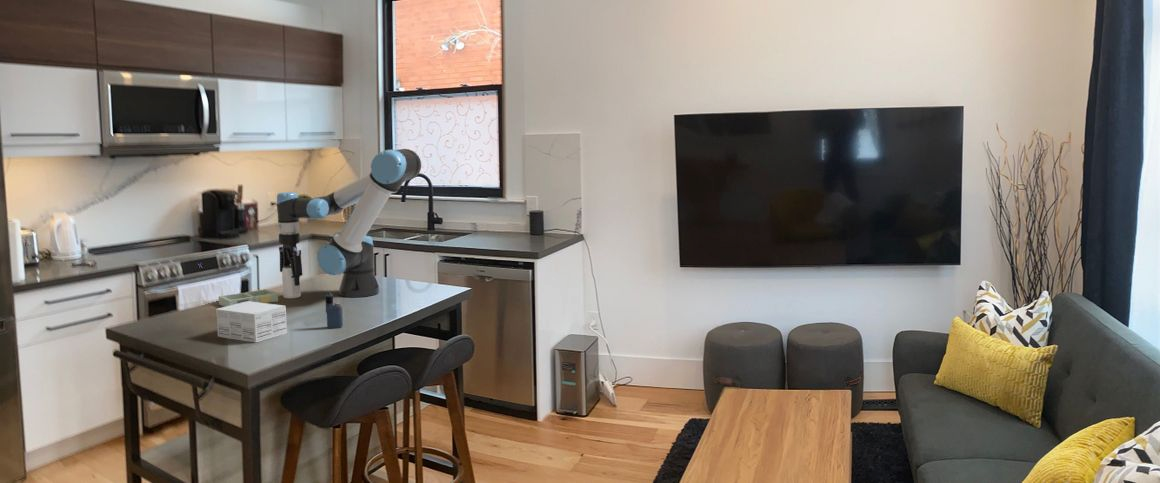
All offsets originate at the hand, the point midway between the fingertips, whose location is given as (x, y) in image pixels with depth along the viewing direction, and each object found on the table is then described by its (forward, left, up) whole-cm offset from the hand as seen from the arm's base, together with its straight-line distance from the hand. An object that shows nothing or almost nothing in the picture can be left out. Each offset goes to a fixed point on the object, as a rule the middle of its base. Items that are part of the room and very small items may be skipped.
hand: (292, 292), depth 312 cm
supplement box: (-43, +34, -2) cm, 55 cm away
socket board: (+2, +16, -2) cm, 16 cm away
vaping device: (-53, +11, -2) cm, 54 cm away
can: (0, 0, -2) cm, 2 cm away
